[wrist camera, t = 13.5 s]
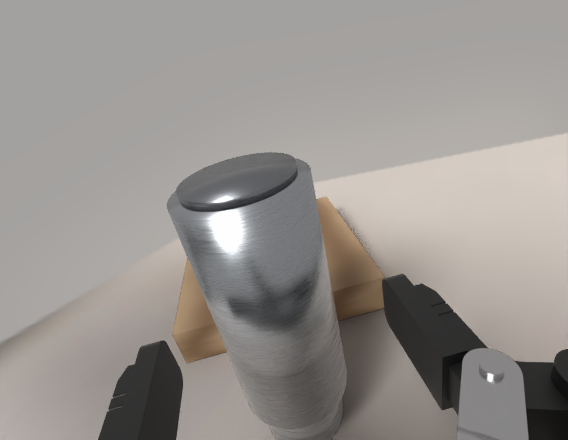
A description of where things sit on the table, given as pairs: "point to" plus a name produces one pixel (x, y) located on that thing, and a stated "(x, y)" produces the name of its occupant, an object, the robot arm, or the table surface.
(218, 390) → the table surface
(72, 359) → the table surface
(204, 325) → the housing
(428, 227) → the table surface
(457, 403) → the robot arm
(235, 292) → the brushed metal cylinder
